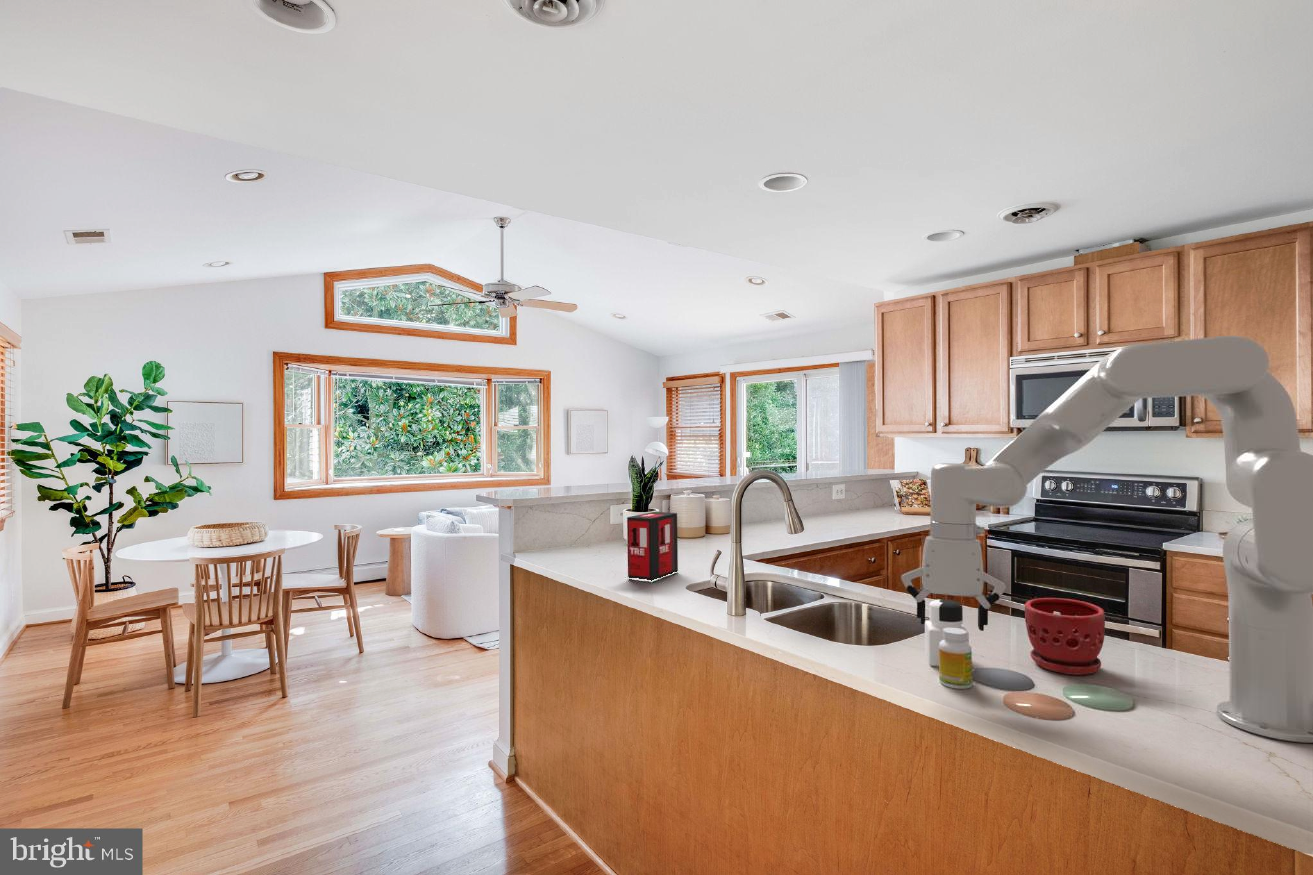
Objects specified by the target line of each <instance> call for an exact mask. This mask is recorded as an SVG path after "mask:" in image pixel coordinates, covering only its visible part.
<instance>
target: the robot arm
mask: <svg viewBox="0 0 1313 875" xmlns="http://www.w3.org/2000/svg"><path fill="white" fill-rule="evenodd" d="M1269 368H1270V358H1269V355H1268V352H1267V351H1266V349H1265V348H1264V347H1263V345H1261V343H1259V342H1257V341H1255V340H1254V339H1252V338H1249V337H1245V336H1239V335H1223V336H1221V335H1220V336H1212V337H1203V338H1202V337H1201V338H1194V339H1182V340H1172V341H1159V342H1149V343H1148V342H1147V343H1137V344H1130V345H1126V346H1123V347H1121V348H1119V349H1116V350H1115V351H1112V352H1111V353H1109V354H1107V355H1105V356H1104V357H1103V358H1101V359H1100V360H1099V361H1098V362H1097V363H1096V364H1095V365H1093V366H1092V368H1090V369H1089V370H1088V371H1087V372H1086V373H1085V374H1083V375H1082V376H1081V377H1080V378H1079V379H1078V380H1077V381H1076V382H1075V383H1074V384H1073V385H1072V386H1070V387H1069V388H1068V389H1067V390H1066V391H1064V392H1063V393H1062V394H1061V395H1060V396H1059V397H1058V398H1057V399H1056V400H1055V401H1054V402H1053V403H1051V404H1050V405H1049V406H1048V407H1047V408H1046V409H1044V411H1043V412H1041V413H1040V414H1039V415H1038V416H1036V417H1035V419H1033V421H1032V422H1031V423H1030V424H1029V425H1028V426H1027V427H1026V428H1025V429H1024V430H1023V431H1022V432H1020V433H1019V434H1018V435H1017V436H1016V437H1015V438H1014V439H1012V440H1011V441H1010V442H1009V443H1008V444H1007V445H1005V446H1004V448H1003V449H1002V450H1000V451H998V453H997V454H996V455H995V456H994V457H992V458H991V459H990V460H989V461H988V462H986V464H985V465H983V466H973V465H971V464H969V463H968V464H967V463H952V462H951V463H950V462H949V463H947V462H946V463H943V462H942V463H936V464H935V465H933V466H932V468H931V471H930V518H929V519H930V522H929V523H930V528H929V529H930V530H929V533H930V534H929V535H928V536H926V537H925V539H924V543H923V544H924V545H923V549H922V562H921V566H919V567H918V568H916V569H912V570H909V571H907V572H906V573H904V574H901V577H900V579H901V581H902V584H903V585H904V588H905V589H906V591H907V593H909V595H911V596H912V597H913V599H914V600H915V601H916V619H920V625H925V621H926V598H927V596H929V595H930V594H936V595H944V596H945V595H947V596H956V597H969V598H970V597H971V598H975V599H976V600H977V601H978V603H979V605H977V627H978V630H980V632H984V630H985V626H988V625H989V619H988V618H989V609H990V608H991V606H992V605H993V604H995V603H996V602H998V601H999V600H1000V598H1001V596H1002V595H1003V593H1004V592H1005V590H1006V588H1007V586H1006V584H1005V582H1003V581H1001V580H1000V579H997V578H995V577H994V576H991V575H990V574H988V573H986V572H985V571H984V564H983V562H984V560H983V556H982V555H983V553H982V546H981V542H980V539H978V538H977V537H978V536H980V535H985V532H986V527H985V526H981V525H978V524H977V505H982V506H988V507H993V508H1000V509H1001V508H1011V507H1014V506H1016V505H1018V504H1020V502H1021V501H1022V500H1024V498H1025V496H1026V494H1027V490H1028V485H1029V484H1030V483H1031V482H1032V481H1033V480H1034V479H1036V478H1037V477H1038V476H1040V475H1041V474H1042V473H1044V471H1045V470H1046V469H1049V467H1051V466H1052V465H1053V464H1055V463H1056V462H1058V461H1059V460H1061V459H1063V458H1065V457H1067V456H1069V455H1071V454H1074V453H1075V452H1078V451H1080V450H1081V449H1083V448H1084V447H1086V446H1087V445H1088V444H1090V443H1091V442H1092V441H1093V440H1094V439H1096V438H1097V437H1098V436H1099V435H1101V433H1102V432H1104V430H1106V429H1107V428H1108V427H1109V426H1110V425H1112V424H1113V423H1114V422H1115V421H1116V420H1117V419H1118V418H1119V417H1121V416H1123V415H1124V413H1126V412H1127V411H1128V410H1129V409H1130V408H1131V407H1133V406H1134V405H1135V404H1136V403H1138V402H1139V400H1141V399H1151V398H1152V399H1154V398H1158V399H1159V398H1175V397H1177V398H1178V397H1190V396H1191V397H1193V396H1200V397H1202V398H1204V399H1206V400H1207V401H1208V402H1209V403H1210V404H1211V405H1212V406H1213V407H1214V408H1215V410H1216V412H1217V414H1218V416H1219V418H1220V423H1221V428H1222V433H1223V446H1224V460H1225V461H1224V462H1225V464H1224V465H1225V483H1226V488H1227V490H1228V492H1229V493H1228V494H1229V495H1230V496H1231V497H1232V498H1233V499H1234V500H1235V501H1236V502H1238V503H1239V504H1241V505H1243V506H1245V507H1247V508H1250V509H1251V512H1252V513H1251V514H1252V518H1251V519H1246V520H1244V521H1241V522H1239V523H1237V524H1235V525H1234V526H1233V527H1232V528H1230V530H1229V531H1228V532H1227V533H1226V536H1225V537H1224V539H1223V546H1222V559H1223V560H1222V561H1223V567H1224V572H1225V579H1226V585H1227V598H1228V600H1227V601H1228V658H1229V659H1228V661H1229V662H1228V664H1229V665H1228V669H1229V671H1228V672H1229V675H1228V676H1229V680H1228V681H1229V700H1227V701H1223V702H1220V703H1217V705H1216V714H1217V716H1218V717H1219V718H1220V719H1222V721H1224V722H1226V723H1227V724H1229V725H1231V726H1233V727H1236V728H1238V729H1241V730H1244V731H1247V732H1249V733H1251V734H1256V735H1259V736H1263V737H1266V738H1271V739H1275V740H1281V741H1286V742H1294V743H1295V742H1296V743H1306V744H1307V743H1308V744H1309V743H1310V744H1312V743H1313V599H1312V595H1313V454H1310V453H1308V452H1304V451H1302V450H1301V442H1300V435H1299V434H1300V433H1299V428H1298V422H1297V421H1298V420H1297V416H1296V410H1295V405H1294V402H1293V400H1292V398H1291V396H1290V394H1289V392H1288V391H1287V390H1286V388H1285V387H1284V385H1283V384H1282V383H1281V382H1280V381H1279V380H1278V379H1277V378H1276V377H1275V376H1274V375H1273V374H1272V373H1271V372H1269ZM919 577H921V584H922V587H921V588H920V589H917V588H916V587H915V586H914V585H913V583H912V580H913V579H916V578H919ZM984 583H987V584H989V585H991V586H993V587H994V589H993V590H992V592H991V593H990V594H988V595H986V596H985V595H984V593H983V592H984Z"/></svg>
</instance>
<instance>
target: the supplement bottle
mask: <svg viewBox="0 0 1313 875" xmlns="http://www.w3.org/2000/svg"><path fill="white" fill-rule="evenodd" d="M943 638H944V640H942V641H941V642H940V643H939V667H938V668H939V674H938V676H939V682H940V684H941V685H943V686H945V687H947V688H950V689H958V690H967V689H969V688H972V686H973V678H972V671H973V661H972V660H973V658H972V657H973V656H972V655H973V653H972V652H973V651H972V650H973V649H972V646H971V644H970V642H969V643H967V642H966V640H967V632H966V631H965V630H963V629H959V628H944V629H943Z"/></svg>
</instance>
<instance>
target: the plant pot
mask: <svg viewBox="0 0 1313 875" xmlns="http://www.w3.org/2000/svg"><path fill="white" fill-rule="evenodd" d="M1054 612H1059V614H1058V613H1057V614H1055V613H1054ZM1077 614H1079V615H1077ZM1105 614H1106V613H1105V610H1104V609H1103V608H1101V607H1100V606H1097V605H1095V604H1092V603H1090V602H1086V601H1082V600H1081V601H1080V600H1077V599H1070V598H1061V597H1060V598H1058V597H1043V598H1041V597H1039V598H1033V599H1030V600H1027V601H1026V602H1025V603H1024V617H1025V618H1024V620H1025V627H1026V632H1027V636H1028V639H1029V642H1030V644H1031V646H1032V648H1033V649H1032V650H1030V652H1029V654H1030V658H1031V659H1032V660H1033V662H1034V663H1036V664H1037V665H1038V666H1040V667H1042V668H1044V669H1047V670H1048V671H1049V670H1050V671H1052V672H1055V673H1061V674H1065V675H1074V676H1076V675H1079V676H1080V675H1082V676H1083V675H1091V674H1093V673H1095V672H1097V671H1098V670H1100V669H1101V666H1102V661H1101V659H1100V658H1099V657H1098V656H1099V655H1100V653H1101V651H1102V648H1103V646H1104V641H1105V627H1106V616H1105Z"/></svg>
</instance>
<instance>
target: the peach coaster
mask: <svg viewBox="0 0 1313 875" xmlns="http://www.w3.org/2000/svg"><path fill="white" fill-rule="evenodd" d="M1002 702H1003V705H1004V706H1006V707H1007V708H1008V709H1010V710H1011V711H1013V710H1014V712H1015V711H1016V712H1015V713H1019V714H1020V713H1022V714H1021V715H1024V716H1027V715H1028V717H1031V716H1032V718H1036V717H1038V718H1037V719H1042V720H1043V719H1044V720H1065V719H1068V718H1070V717H1072V716H1071V715H1073V714H1074V712H1073V711H1074V709H1073V706H1072V705H1071V704H1069V703H1067V702H1066V701H1064V700H1063V699H1059V698H1058V697H1054V696H1051V695H1048V694H1042V693H1038V692H1033V691H1032V692H1031V691H1029V692H1028V691H1014V692H1013V691H1011V692H1008V693H1006V694H1004V695H1003V698H1002Z"/></svg>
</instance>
